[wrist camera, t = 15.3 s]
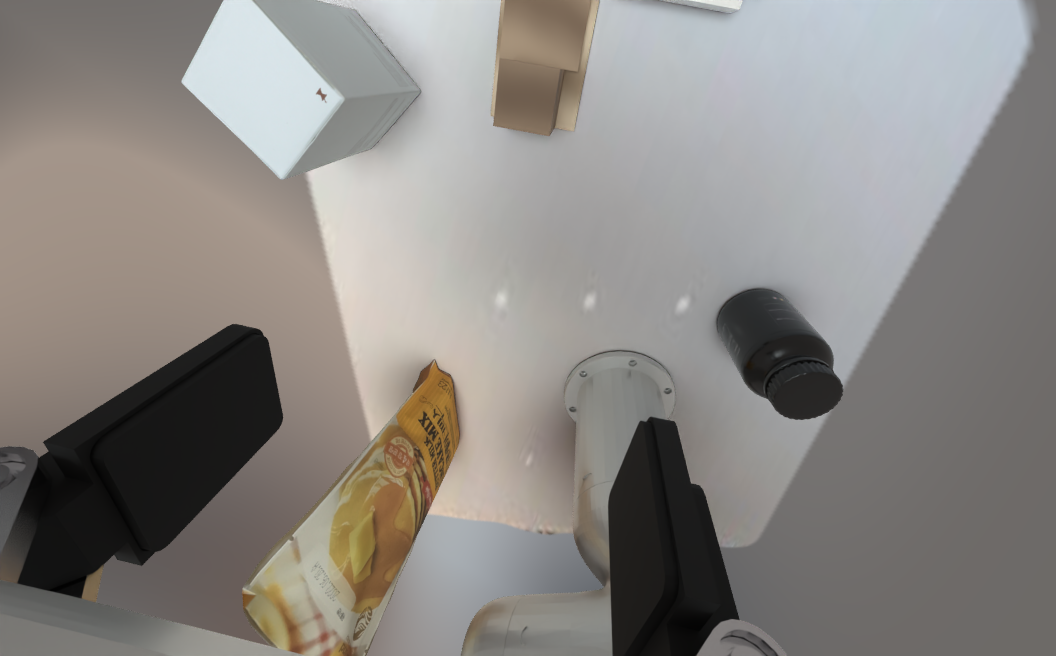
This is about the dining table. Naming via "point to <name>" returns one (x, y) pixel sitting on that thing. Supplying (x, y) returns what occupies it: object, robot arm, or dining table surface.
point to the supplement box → (298, 81)
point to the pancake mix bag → (357, 534)
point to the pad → (571, 78)
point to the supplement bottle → (779, 354)
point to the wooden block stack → (537, 60)
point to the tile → (712, 4)
